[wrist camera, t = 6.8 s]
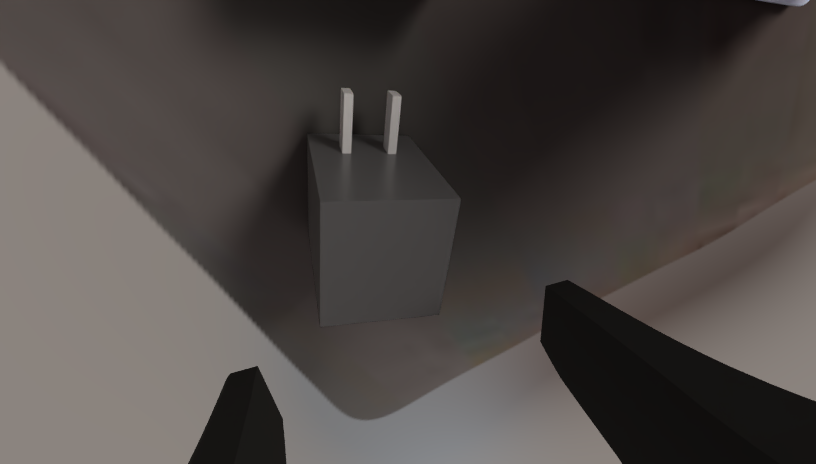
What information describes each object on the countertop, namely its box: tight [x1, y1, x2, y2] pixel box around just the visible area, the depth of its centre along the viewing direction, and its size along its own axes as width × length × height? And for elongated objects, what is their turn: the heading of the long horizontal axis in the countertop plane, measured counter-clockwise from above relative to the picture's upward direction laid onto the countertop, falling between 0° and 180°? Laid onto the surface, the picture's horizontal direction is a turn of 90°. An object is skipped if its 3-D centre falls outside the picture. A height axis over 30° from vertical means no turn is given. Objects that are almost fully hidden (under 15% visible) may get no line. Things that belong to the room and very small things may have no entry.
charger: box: [307, 88, 461, 327], centre depth 14 cm, size 4×6×6 cm, turn 175°
